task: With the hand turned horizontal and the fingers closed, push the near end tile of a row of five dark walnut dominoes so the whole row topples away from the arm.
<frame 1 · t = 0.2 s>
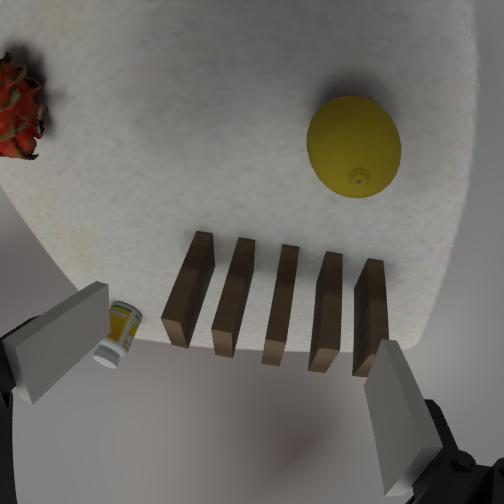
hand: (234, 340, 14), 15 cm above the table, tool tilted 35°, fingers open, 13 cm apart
dragon fruit: (30, 91, 21), on the table
domino 4: (328, 269, 31), on the table
supplement bottle: (127, 309, 48), on the table
domino 5: (368, 275, 31), on the table
domino 3: (287, 262, 32), on the table
lemon: (348, 116, 20), on the table
domino 1: (206, 249, 33), on the table
domino 2: (246, 256, 32), on the table
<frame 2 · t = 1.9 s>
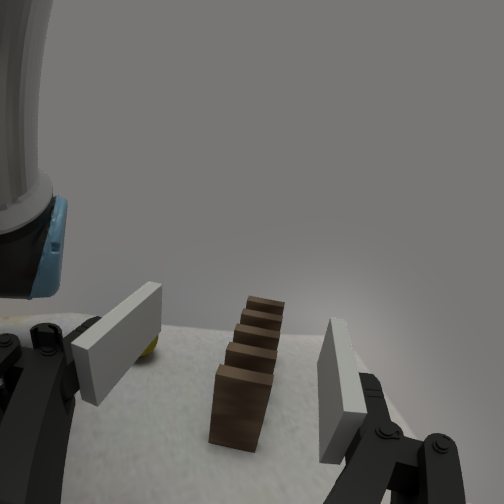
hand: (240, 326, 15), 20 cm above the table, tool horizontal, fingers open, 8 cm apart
domino 4: (251, 377, 42), on the table
domino 5: (255, 361, 46), on the table
domino 3: (245, 396, 38), on the table
lemon: (139, 357, 42), on the table
domino 1: (233, 442, 29), on the table
domino 2: (240, 417, 33), on the table
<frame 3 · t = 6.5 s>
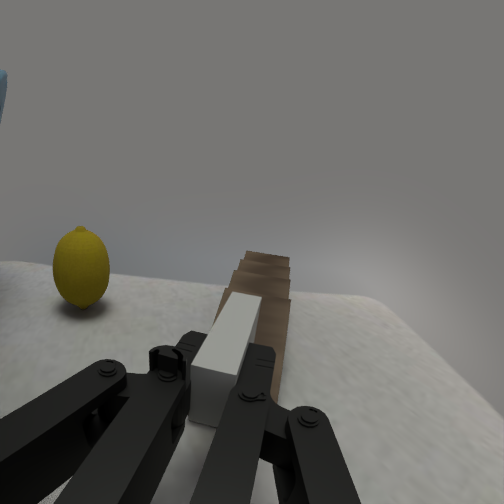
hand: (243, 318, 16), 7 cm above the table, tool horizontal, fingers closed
domino 4: (255, 321, 29), point 1 cm above the table, tilted 72°, touching domino 3, domino 5
domino 3: (247, 349, 24), point 1 cm above the table, tilted 68°, touching domino 2, domino 4
lemon: (83, 310, 27), on the table
domino 1: (229, 421, 16), point 1 cm above the table, tilted 68°, touching domino 2
domino 2: (239, 378, 20), point 1 cm above the table, tilted 68°, touching domino 1, domino 3
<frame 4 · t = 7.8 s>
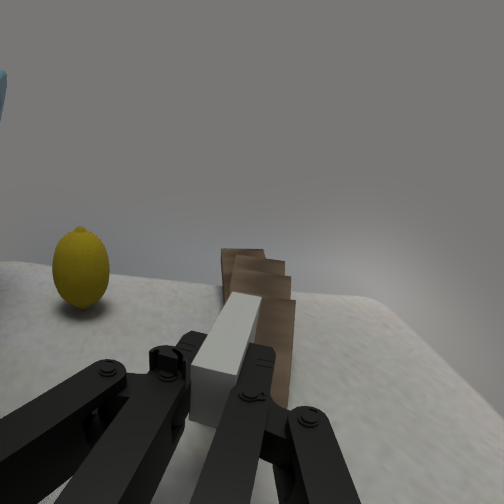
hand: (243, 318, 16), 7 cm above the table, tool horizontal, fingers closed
domino 4: (251, 310, 30), point 1 cm above the table, tilted 75°, touching domino 3, domino 5
domino 3: (250, 343, 25), point 1 cm above the table, tilted 67°, touching domino 2, domino 4
lemon: (83, 311, 27), on the table
domino 1: (240, 420, 17), point 1 cm above the table, tilted 68°, touching domino 2
domino 2: (249, 375, 21), point 1 cm above the table, tilted 67°, touching domino 1, domino 3
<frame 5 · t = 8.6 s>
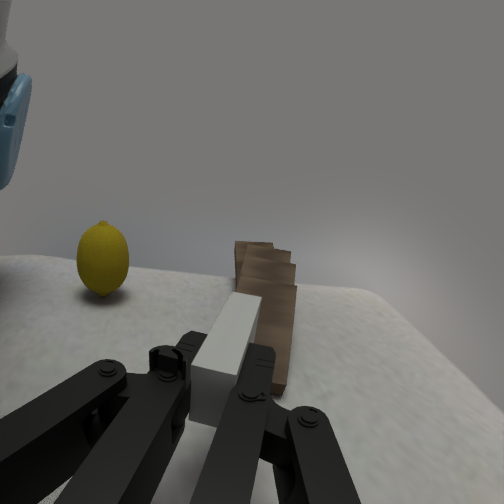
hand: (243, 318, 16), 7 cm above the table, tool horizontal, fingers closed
domino 4: (260, 291, 34), point 2 cm above the table, tilted 77°
domino 3: (256, 320, 29), point 1 cm above the table, tilted 66°
lemon: (103, 298, 30), on the table
domino 1: (247, 384, 20), point 1 cm above the table, tilted 69°
domino 2: (255, 346, 25), point 1 cm above the table, tilted 66°
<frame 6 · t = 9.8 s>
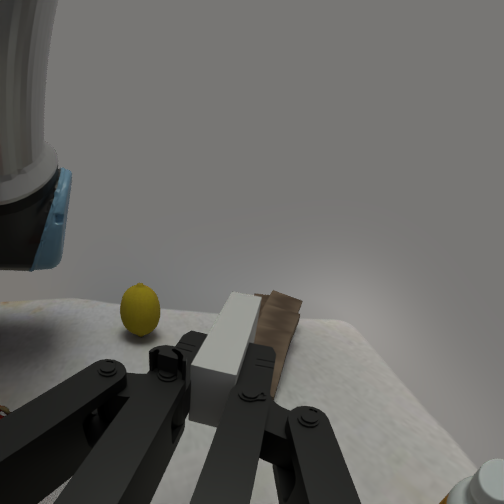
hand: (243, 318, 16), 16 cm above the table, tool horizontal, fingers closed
domino 4: (269, 324, 47), point 2 cm above the table, tilted 90°, touching domino 3, domino 5
domino 3: (263, 344, 42), point 1 cm above the table, tilted 68°, touching domino 2, domino 4
lemon: (140, 337, 41), on the table
domino 1: (250, 395, 32), point 1 cm above the table, tilted 71°, touching domino 2
domino 2: (257, 366, 37), point 1 cm above the table, tilted 68°, touching domino 1, domino 3
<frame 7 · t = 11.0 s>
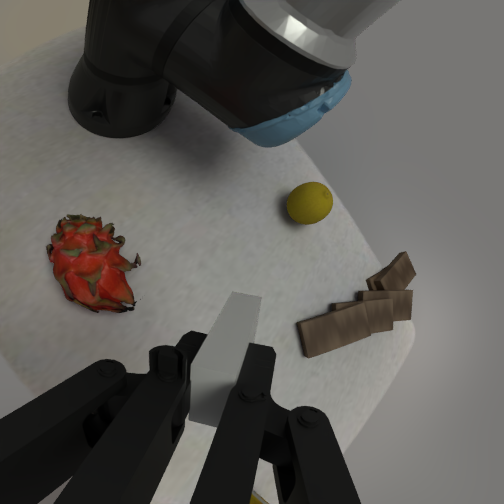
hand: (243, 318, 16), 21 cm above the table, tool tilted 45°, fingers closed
dragon fruit: (94, 270, 32), on the table
domino 4: (382, 293, 50), point 2 cm above the table, tilted 90°, touching domino 3, domino 5
supplement bottle: (239, 501, 33), on the table
domino 5: (370, 293, 50), on the table, tilted 90°, touching domino 4
domino 3: (360, 307, 47), point 1 cm above the table, tilted 73°, touching domino 2, domino 4
lemon: (291, 212, 46), on the table
domino 1: (302, 340, 42), point 1 cm above the table, tilted 72°, touching domino 2
domino 2: (334, 320, 44), point 1 cm above the table, tilted 72°, touching domino 1, domino 3
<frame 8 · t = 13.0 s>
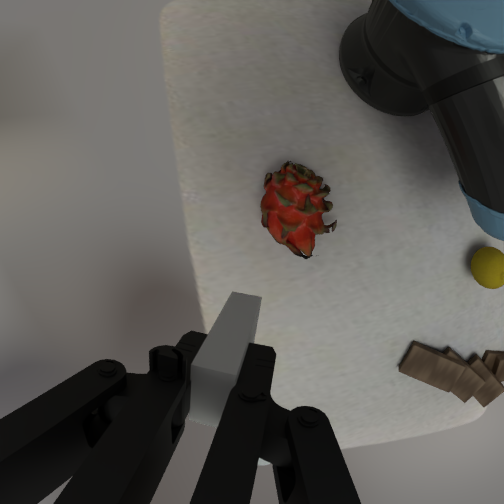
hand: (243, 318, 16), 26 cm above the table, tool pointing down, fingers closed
dragon fruit: (297, 207, 41), on the table
domino 4: (494, 370, 40), point 2 cm above the table, tilted 90°, touching domino 3, domino 5
domino 5: (480, 363, 41), on the table, tilted 90°, touching domino 4
domino 3: (466, 365, 41), point 1 cm above the table, tilted 74°, touching domino 2, domino 4
lemon: (476, 259, 38), on the table
domino 1: (406, 356, 42), point 1 cm above the table, tilted 73°, touching domino 2
domino 2: (438, 360, 42), point 1 cm above the table, tilted 73°, touching domino 1, domino 3
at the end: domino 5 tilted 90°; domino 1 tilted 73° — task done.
